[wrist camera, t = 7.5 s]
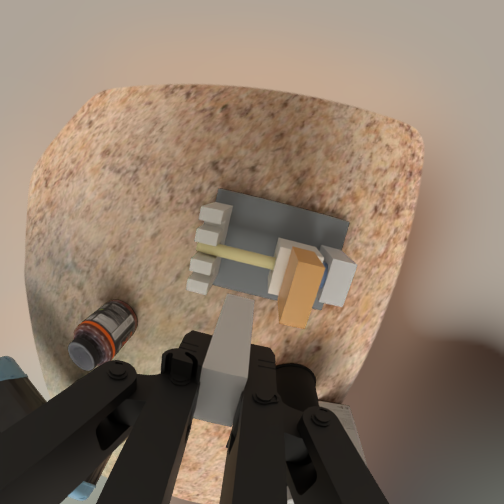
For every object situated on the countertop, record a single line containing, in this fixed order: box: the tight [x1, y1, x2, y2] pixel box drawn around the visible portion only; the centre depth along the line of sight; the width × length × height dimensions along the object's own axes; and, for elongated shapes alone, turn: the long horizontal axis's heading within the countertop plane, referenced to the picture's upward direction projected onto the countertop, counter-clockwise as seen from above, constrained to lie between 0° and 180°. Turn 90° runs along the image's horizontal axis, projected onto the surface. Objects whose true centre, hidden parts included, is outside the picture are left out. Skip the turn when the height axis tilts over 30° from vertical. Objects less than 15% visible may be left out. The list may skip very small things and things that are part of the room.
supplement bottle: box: [68, 300, 137, 371], centre depth 30 cm, size 6×6×11 cm
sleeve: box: [268, 238, 325, 329], centre depth 24 cm, size 4×5×9 cm
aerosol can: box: [275, 364, 319, 504], centre depth 27 cm, size 8×8×20 cm
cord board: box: [186, 188, 357, 310], centre depth 28 cm, size 15×11×8 cm
